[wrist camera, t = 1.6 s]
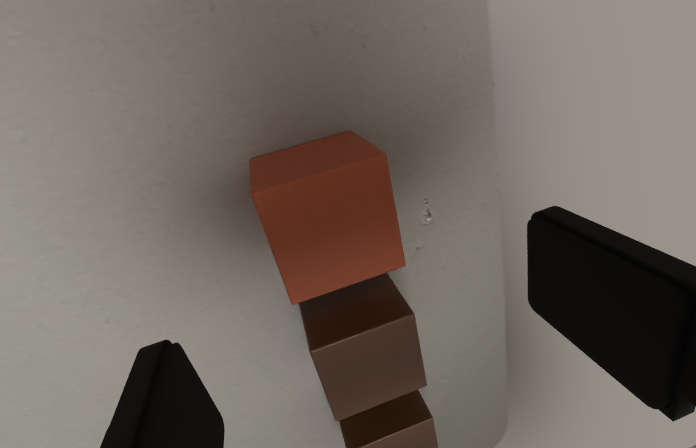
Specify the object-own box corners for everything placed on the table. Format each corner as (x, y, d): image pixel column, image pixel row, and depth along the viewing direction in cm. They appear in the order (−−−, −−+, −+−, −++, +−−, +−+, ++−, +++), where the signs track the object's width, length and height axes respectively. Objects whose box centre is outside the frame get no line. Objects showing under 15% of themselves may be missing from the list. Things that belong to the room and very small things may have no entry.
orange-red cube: (248, 158, 15) (250, 194, 11) (350, 130, 16) (386, 153, 12) (281, 249, 18) (292, 306, 13) (370, 220, 18) (406, 266, 14)
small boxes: (295, 288, 19) (309, 352, 15) (378, 260, 19) (414, 313, 15) (365, 484, 27) (387, 559, 23) (422, 460, 28) (453, 529, 24)
